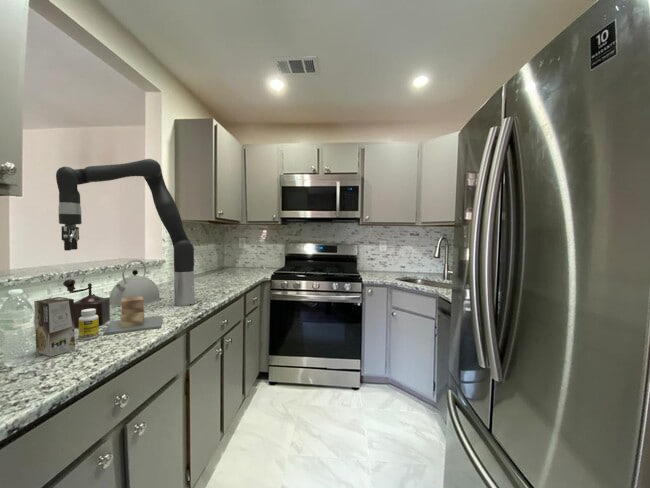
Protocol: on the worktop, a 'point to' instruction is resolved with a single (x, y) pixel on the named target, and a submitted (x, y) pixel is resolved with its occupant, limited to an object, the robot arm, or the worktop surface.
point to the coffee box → (54, 326)
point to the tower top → (132, 305)
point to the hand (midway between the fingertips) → (71, 250)
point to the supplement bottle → (88, 324)
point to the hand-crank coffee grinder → (89, 304)
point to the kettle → (134, 288)
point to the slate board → (147, 325)
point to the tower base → (132, 319)
